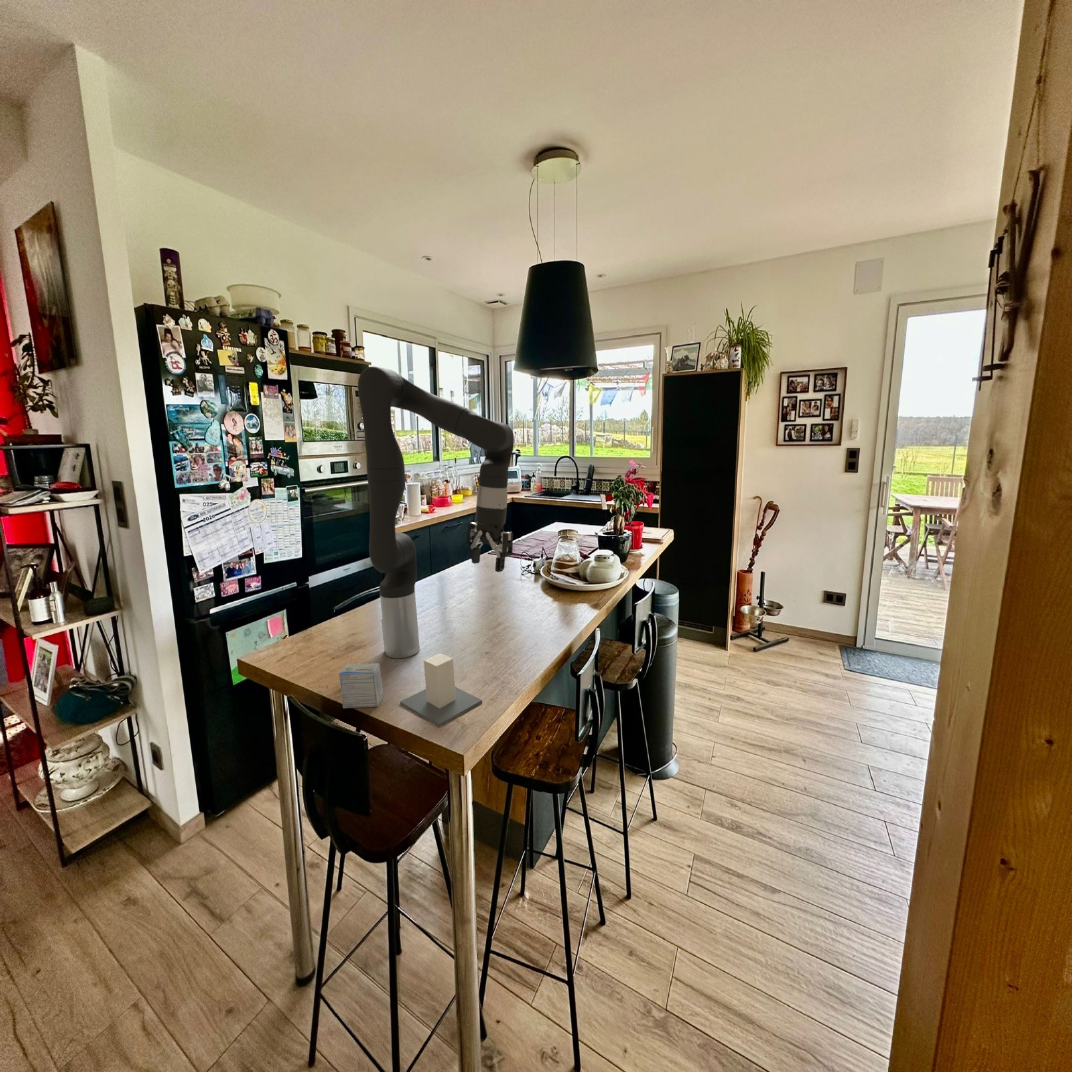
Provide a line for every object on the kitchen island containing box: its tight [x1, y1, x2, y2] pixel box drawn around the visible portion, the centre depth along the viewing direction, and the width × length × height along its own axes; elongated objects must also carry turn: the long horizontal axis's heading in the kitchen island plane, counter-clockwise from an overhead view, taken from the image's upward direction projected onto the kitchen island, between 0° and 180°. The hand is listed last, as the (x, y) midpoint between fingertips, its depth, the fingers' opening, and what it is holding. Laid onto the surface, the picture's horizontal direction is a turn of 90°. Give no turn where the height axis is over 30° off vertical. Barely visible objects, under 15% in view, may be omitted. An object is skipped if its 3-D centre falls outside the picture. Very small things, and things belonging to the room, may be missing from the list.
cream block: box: [423, 653, 456, 708], centre depth 108 cm, size 4×4×10 cm
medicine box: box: [338, 662, 384, 709], centre depth 110 cm, size 8×4×9 cm, turn 92°
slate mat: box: [399, 686, 483, 728], centre depth 109 cm, size 14×12×1 cm
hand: (487, 567), depth 124 cm, fingers open, 8 cm apart
